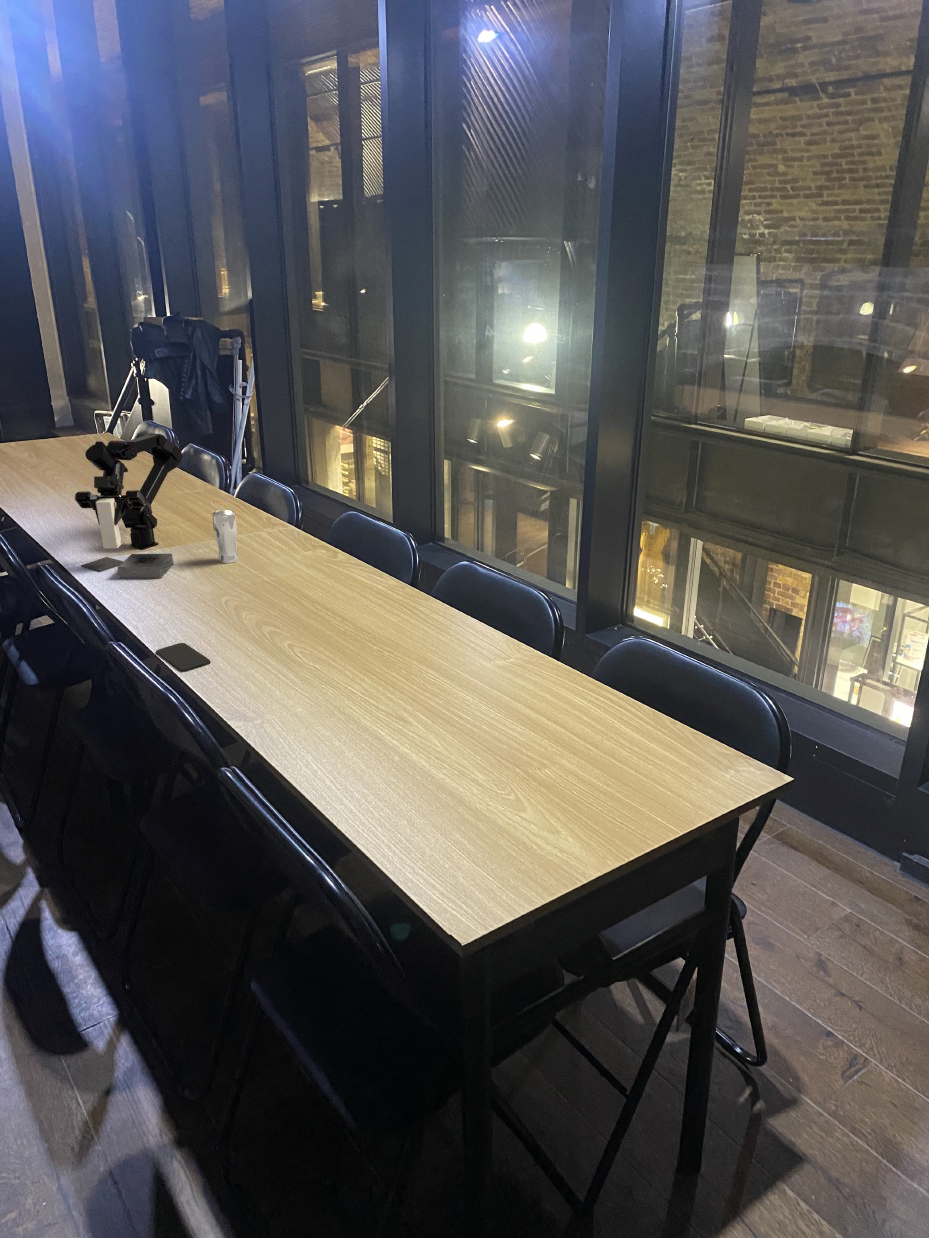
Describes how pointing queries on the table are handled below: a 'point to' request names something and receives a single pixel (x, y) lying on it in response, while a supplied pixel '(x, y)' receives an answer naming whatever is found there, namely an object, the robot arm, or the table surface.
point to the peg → (108, 523)
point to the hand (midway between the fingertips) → (107, 524)
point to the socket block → (145, 566)
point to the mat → (102, 564)
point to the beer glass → (225, 535)
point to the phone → (183, 657)
